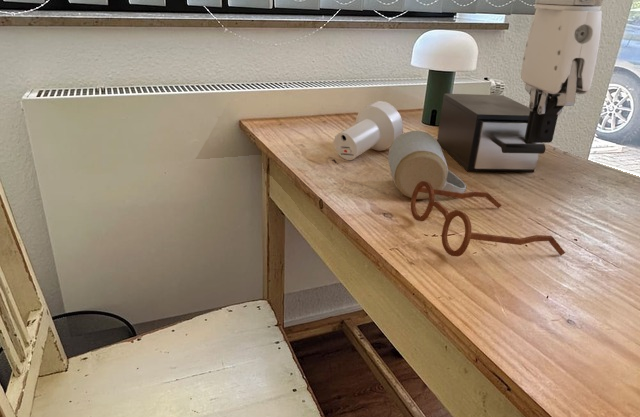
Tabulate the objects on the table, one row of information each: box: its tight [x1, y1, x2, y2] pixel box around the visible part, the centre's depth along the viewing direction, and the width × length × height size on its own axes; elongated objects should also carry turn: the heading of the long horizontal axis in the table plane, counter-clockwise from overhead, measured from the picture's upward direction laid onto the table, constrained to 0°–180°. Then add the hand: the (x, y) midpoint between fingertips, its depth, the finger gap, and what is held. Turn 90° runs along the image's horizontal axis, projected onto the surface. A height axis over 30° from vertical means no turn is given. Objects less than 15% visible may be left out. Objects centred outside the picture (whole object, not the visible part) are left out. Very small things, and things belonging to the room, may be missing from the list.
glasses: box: [410, 181, 566, 258], centre depth 56 cm, size 13×13×5 cm
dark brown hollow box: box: [436, 93, 536, 173], centre depth 83 cm, size 16×11×9 cm
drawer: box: [472, 120, 547, 170], centre depth 79 cm, size 19×10×7 cm, turn 5°
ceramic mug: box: [387, 130, 467, 200], centre depth 67 cm, size 11×8×8 cm
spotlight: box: [333, 100, 404, 161], centre depth 82 cm, size 8×11×8 cm
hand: (537, 140), depth 68 cm, fingers closed
